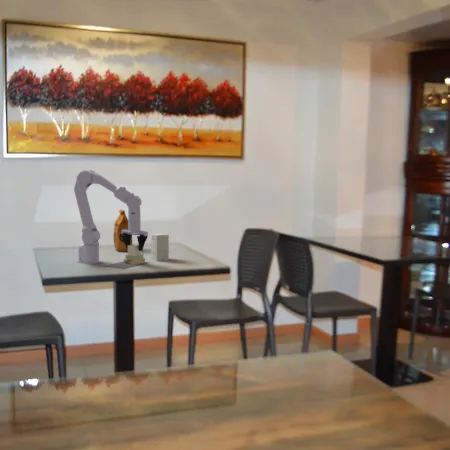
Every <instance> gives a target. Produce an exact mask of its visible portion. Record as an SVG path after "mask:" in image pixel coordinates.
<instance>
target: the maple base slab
mask: <svg viewBox="0 0 450 450" xmlns="http://www.w3.org/2000/svg"><path fill="white" fill-rule="evenodd" d="M123 261H124V263H126V264H134V265H137V264H141V263H145V262H146V258H145V257H144V258H143V259H139V260H129V259H126V258H124V259H123Z"/></svg>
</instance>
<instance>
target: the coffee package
mask: <svg viewBox="0 0 450 450" xmlns="http://www.w3.org/2000/svg"><path fill="white" fill-rule="evenodd" d="M118 213H119V215H118V216H117V218H116V220H115V222H114V227H113V245H114V248H115V249H116V251H118V252H128V250H126V246H125V243H124V240H123V238H122V237H121V235H123V234H121V230H128V216H127V215H126V210H124V209H119V210H118ZM131 245H133V236H132V237H131Z"/></svg>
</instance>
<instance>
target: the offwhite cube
mask: <svg viewBox="0 0 450 450" xmlns="http://www.w3.org/2000/svg"><path fill="white" fill-rule="evenodd" d="M141 254H142V251H139V244H133V243H132V245H128V251H127V255H133V256H137V255H141Z"/></svg>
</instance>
